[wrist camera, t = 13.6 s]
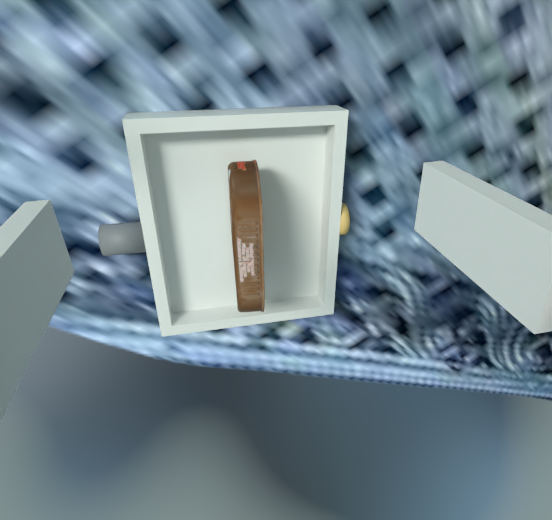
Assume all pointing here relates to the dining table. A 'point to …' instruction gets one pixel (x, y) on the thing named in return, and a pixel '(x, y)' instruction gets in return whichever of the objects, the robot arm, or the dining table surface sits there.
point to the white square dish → (216, 210)
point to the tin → (247, 234)
